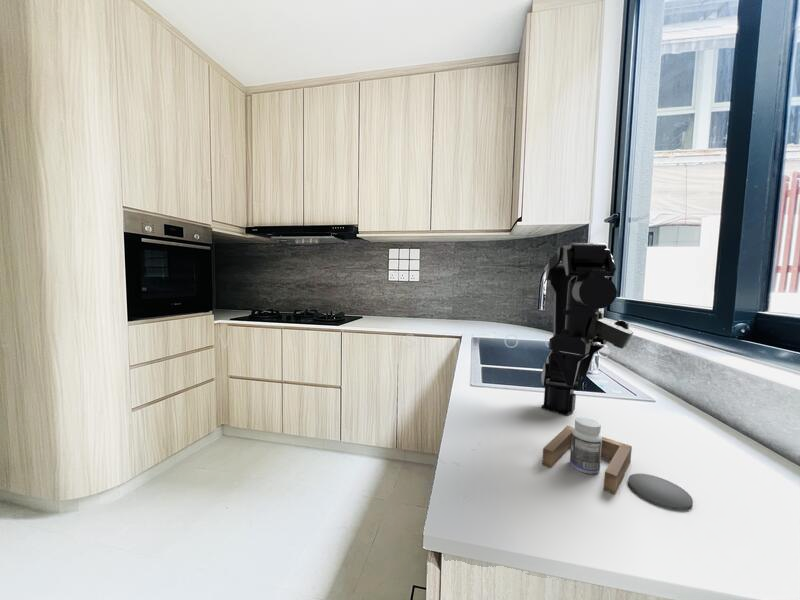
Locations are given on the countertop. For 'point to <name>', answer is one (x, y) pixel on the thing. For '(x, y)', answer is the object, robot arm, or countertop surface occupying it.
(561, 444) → the nook
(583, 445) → the pill bottle
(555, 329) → the robot arm
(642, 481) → the coaster
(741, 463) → the countertop surface
